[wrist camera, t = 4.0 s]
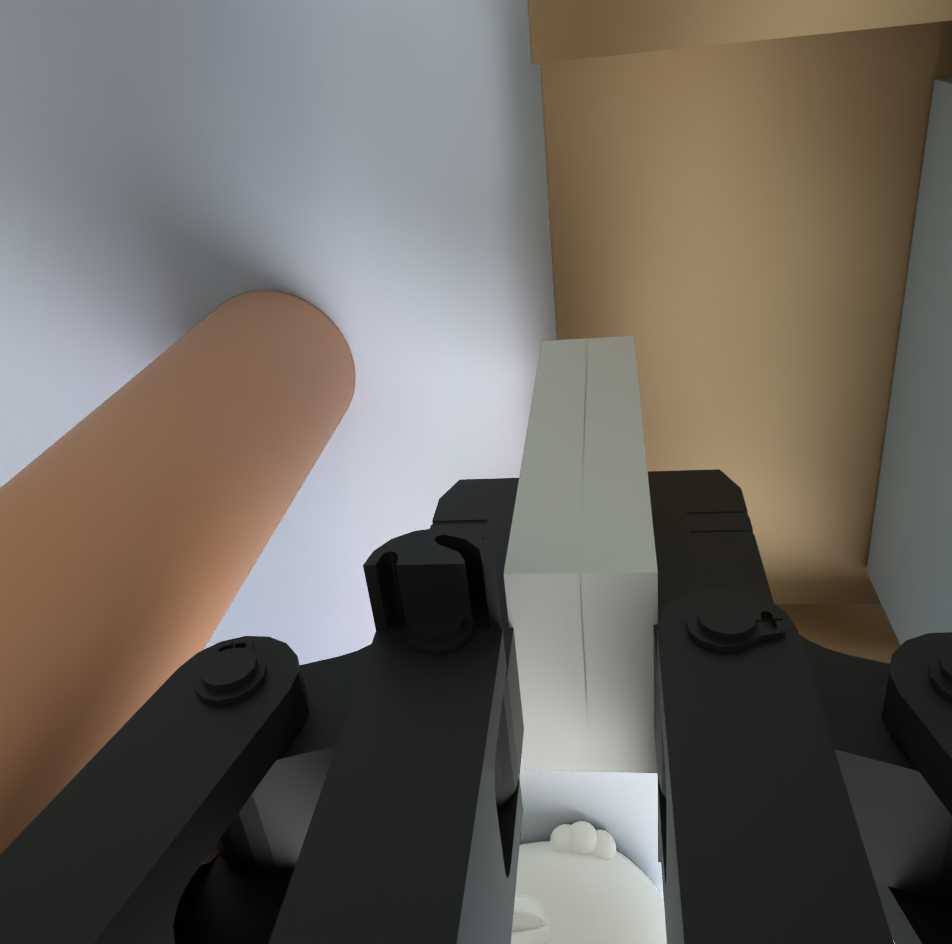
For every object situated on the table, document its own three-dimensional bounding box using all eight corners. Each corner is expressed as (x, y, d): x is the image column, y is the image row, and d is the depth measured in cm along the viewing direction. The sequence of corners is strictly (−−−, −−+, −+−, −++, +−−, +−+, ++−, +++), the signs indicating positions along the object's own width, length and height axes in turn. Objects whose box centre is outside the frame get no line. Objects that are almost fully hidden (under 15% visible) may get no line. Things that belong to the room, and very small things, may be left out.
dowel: (220, 442, 19) (-420, 1209, 7) (180, 295, 18) (-733, 961, 6) (367, 437, 19) (-56, 1256, 7) (339, 285, 17) (-285, 995, 5)
